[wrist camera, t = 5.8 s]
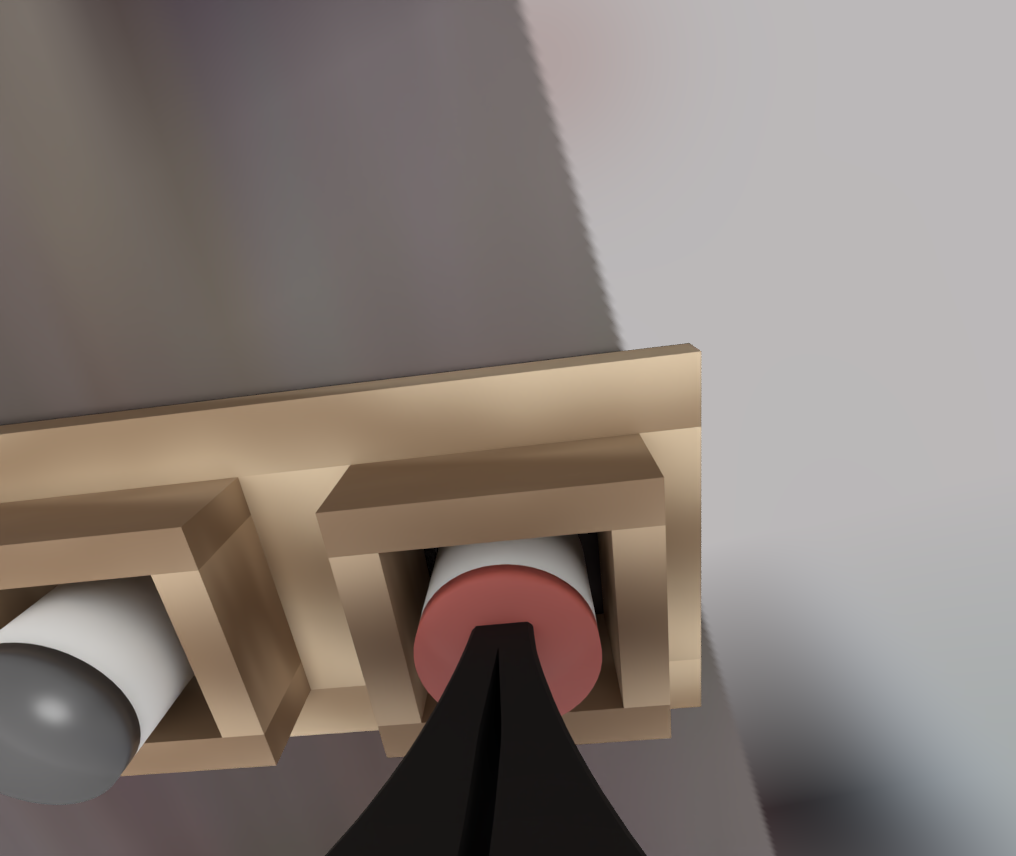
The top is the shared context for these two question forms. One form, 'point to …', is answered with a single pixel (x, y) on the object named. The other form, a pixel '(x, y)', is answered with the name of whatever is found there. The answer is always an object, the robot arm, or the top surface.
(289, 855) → the top surface
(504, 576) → the plug red
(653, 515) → the socket panel
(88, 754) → the grey plug
